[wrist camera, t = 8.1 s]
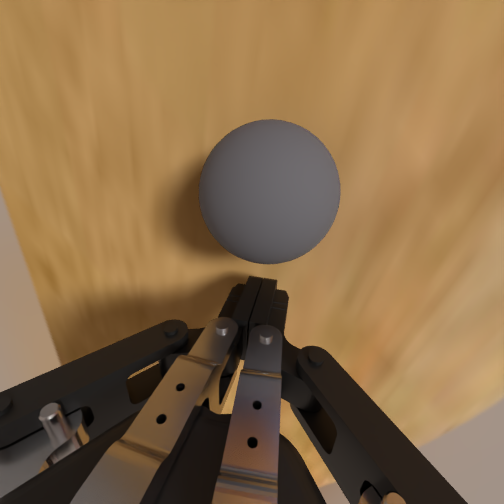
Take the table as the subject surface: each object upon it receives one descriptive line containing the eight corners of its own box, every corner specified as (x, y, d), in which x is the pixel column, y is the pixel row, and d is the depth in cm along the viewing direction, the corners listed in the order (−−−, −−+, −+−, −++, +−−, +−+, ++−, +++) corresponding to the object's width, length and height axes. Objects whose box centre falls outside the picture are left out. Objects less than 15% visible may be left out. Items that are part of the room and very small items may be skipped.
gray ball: (174, 267, 11) (215, 195, 15) (304, 308, 11) (310, 225, 15) (176, 131, 7) (232, 82, 11) (381, 196, 7) (362, 124, 11)
